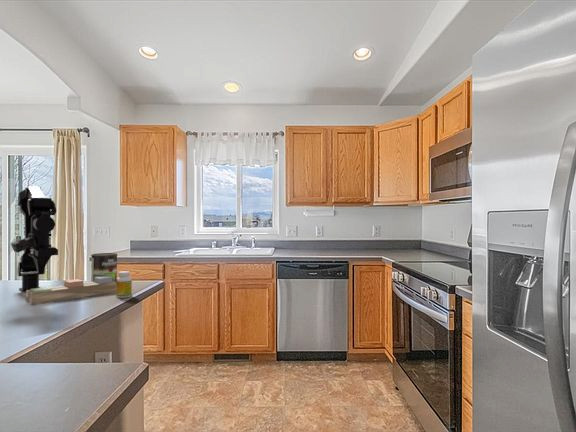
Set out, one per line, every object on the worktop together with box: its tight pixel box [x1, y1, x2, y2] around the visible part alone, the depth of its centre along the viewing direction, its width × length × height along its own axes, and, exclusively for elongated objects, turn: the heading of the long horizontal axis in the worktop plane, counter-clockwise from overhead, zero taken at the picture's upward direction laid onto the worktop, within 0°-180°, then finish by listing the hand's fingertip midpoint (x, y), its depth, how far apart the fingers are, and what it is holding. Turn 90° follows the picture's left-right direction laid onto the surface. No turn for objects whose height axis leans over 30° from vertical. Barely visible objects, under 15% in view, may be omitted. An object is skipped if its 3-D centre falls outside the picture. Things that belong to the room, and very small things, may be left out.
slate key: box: [94, 276, 112, 284], centre depth 149 cm, size 5×5×4 cm
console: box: [25, 281, 116, 306], centre depth 140 cm, size 7×29×4 cm, turn 140°
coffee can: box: [90, 252, 118, 285], centre depth 159 cm, size 10×10×14 cm
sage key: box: [31, 286, 51, 293], centre depth 132 cm, size 5×5×4 cm
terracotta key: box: [63, 278, 84, 288], centre depth 140 cm, size 5×5×4 cm
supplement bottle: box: [115, 270, 133, 299], centre depth 141 cm, size 5×5×10 cm
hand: (39, 272), depth 133 cm, fingers closed
